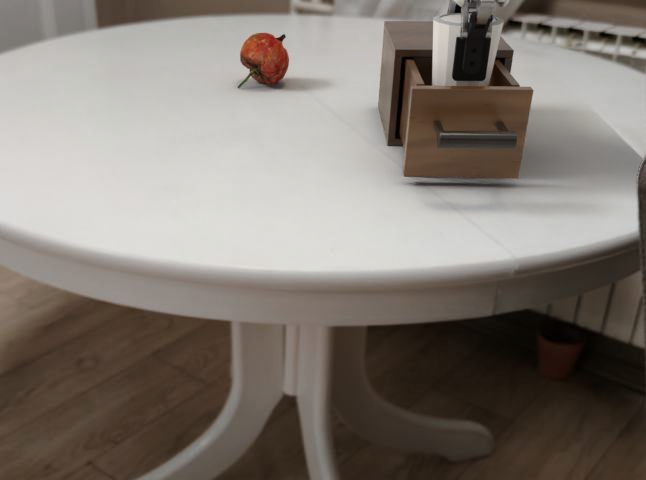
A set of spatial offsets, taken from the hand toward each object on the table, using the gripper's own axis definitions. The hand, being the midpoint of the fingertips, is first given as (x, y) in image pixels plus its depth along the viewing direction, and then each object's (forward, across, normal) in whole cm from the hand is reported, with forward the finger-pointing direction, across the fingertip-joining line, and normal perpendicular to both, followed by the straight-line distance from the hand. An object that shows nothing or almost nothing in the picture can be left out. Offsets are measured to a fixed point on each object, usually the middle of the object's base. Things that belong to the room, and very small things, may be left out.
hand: (462, 69), depth 82 cm
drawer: (+9, -2, 0) cm, 9 cm away
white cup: (+2, 0, 0) cm, 2 cm away
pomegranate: (+10, +31, +22) cm, 40 cm away
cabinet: (+10, +13, 0) cm, 17 cm away
